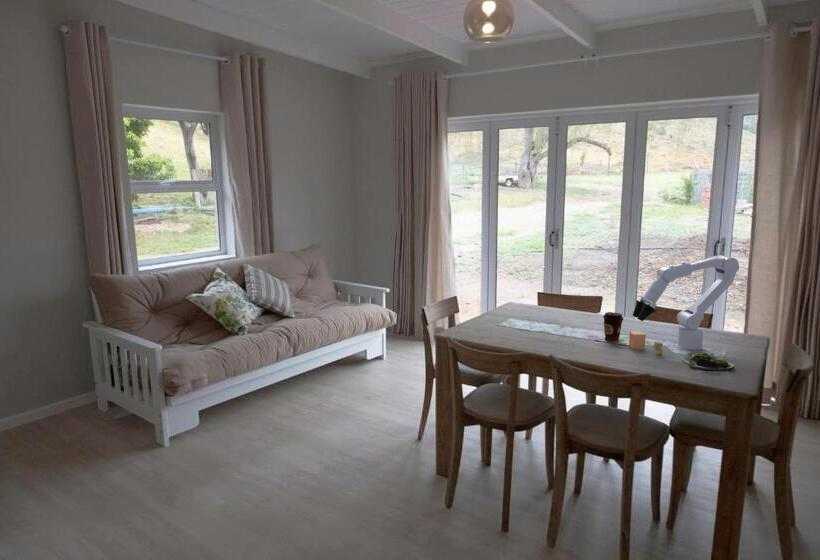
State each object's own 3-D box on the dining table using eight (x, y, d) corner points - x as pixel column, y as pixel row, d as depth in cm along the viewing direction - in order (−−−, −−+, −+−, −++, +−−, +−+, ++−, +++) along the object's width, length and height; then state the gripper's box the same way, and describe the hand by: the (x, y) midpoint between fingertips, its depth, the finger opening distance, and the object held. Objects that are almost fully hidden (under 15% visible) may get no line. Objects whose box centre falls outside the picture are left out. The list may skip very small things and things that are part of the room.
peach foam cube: (641, 345, 246) (641, 331, 245) (644, 349, 241) (645, 334, 239) (628, 345, 246) (629, 331, 245) (632, 349, 241) (633, 334, 240)
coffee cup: (608, 344, 250) (610, 316, 248) (598, 339, 258) (599, 312, 256) (625, 342, 252) (627, 314, 250) (614, 337, 260) (615, 310, 258)
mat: (665, 346, 246) (665, 345, 246) (680, 358, 229) (680, 357, 229) (626, 345, 247) (626, 344, 247) (637, 357, 231) (637, 356, 231)
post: (659, 353, 235) (660, 341, 234) (661, 355, 233) (662, 343, 232) (653, 353, 235) (654, 341, 235) (655, 354, 233) (656, 343, 232)
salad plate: (669, 357, 232) (670, 346, 231) (710, 356, 233) (711, 345, 232) (695, 373, 213) (696, 361, 212) (740, 372, 214) (741, 360, 213)
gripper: (641, 285, 247) (624, 310, 249) (652, 289, 233) (634, 316, 235) (655, 293, 247) (638, 318, 249) (667, 298, 233) (648, 325, 235)
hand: (637, 318), depth 242 cm, fingers open, 7 cm apart
